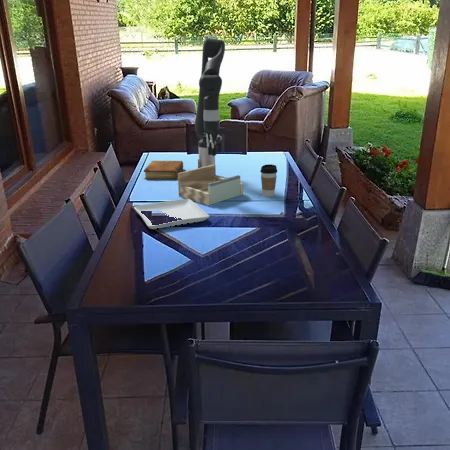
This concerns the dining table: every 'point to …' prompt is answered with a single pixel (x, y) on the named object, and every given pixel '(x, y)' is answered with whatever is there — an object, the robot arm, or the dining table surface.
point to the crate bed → (198, 184)
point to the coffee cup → (268, 179)
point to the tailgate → (224, 189)
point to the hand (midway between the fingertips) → (212, 155)
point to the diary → (163, 170)
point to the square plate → (174, 212)
